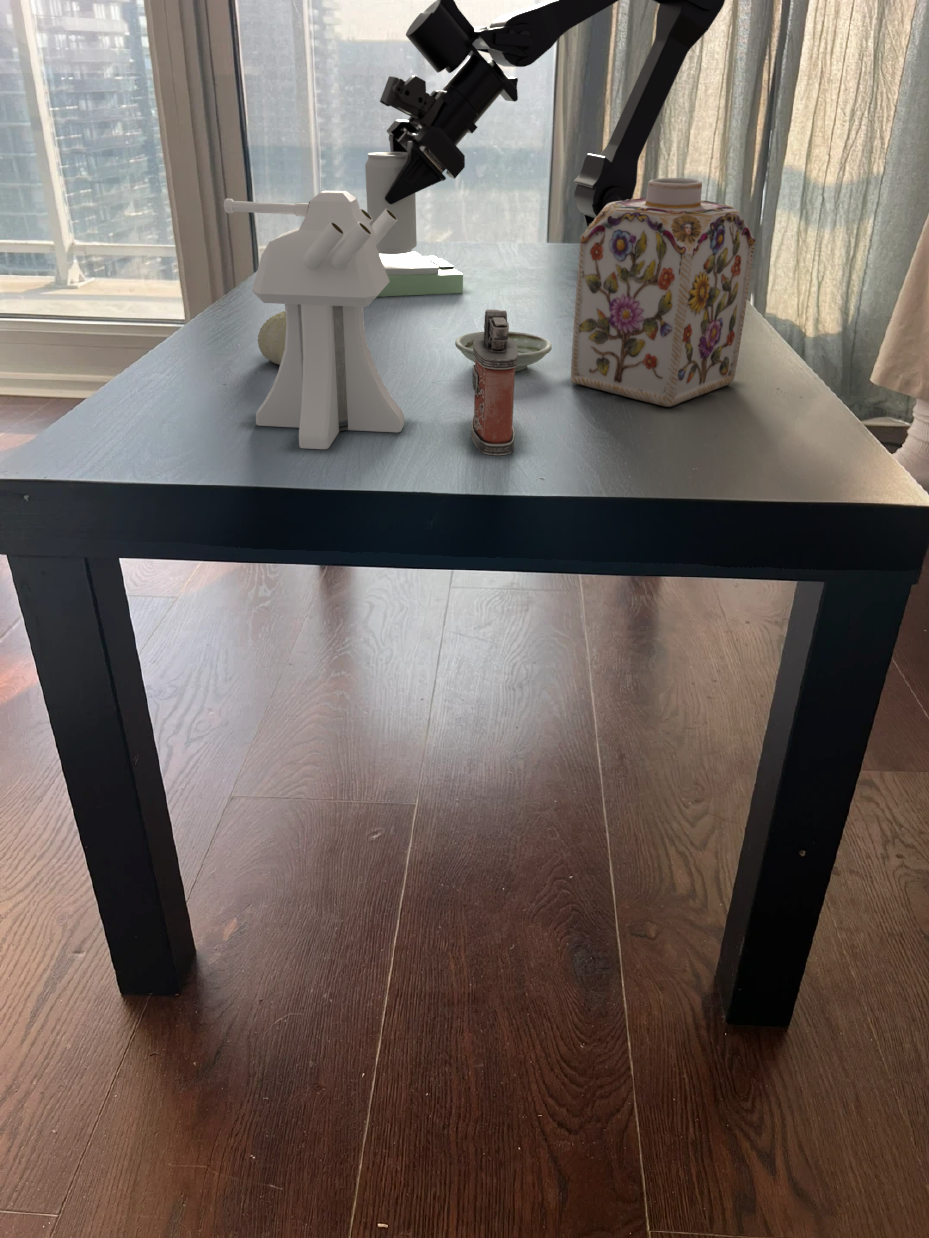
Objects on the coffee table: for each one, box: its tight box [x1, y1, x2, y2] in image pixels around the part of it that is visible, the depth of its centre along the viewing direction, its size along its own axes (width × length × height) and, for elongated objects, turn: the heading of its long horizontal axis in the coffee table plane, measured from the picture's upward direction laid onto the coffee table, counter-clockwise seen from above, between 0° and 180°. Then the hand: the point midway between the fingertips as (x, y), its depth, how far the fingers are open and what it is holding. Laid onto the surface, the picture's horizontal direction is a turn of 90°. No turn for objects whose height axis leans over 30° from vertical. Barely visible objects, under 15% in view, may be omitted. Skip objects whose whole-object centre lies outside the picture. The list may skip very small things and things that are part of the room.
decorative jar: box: [570, 177, 756, 408], centre depth 89 cm, size 12×12×18 cm
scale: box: [376, 251, 464, 298], centre depth 132 cm, size 16×14×3 cm
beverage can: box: [364, 151, 418, 255], centre depth 128 cm, size 6×6×12 cm
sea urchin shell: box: [257, 310, 286, 366], centre depth 98 cm, size 9×8×8 cm
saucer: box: [454, 330, 553, 372], centre depth 98 cm, size 10×10×2 cm
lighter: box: [470, 309, 518, 456], centre depth 77 cm, size 8×3×10 cm, turn 5°
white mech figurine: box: [223, 189, 405, 450], centre depth 77 cm, size 12×13×18 cm
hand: (381, 198), depth 127 cm, fingers closed on beverage can, 6 cm apart
